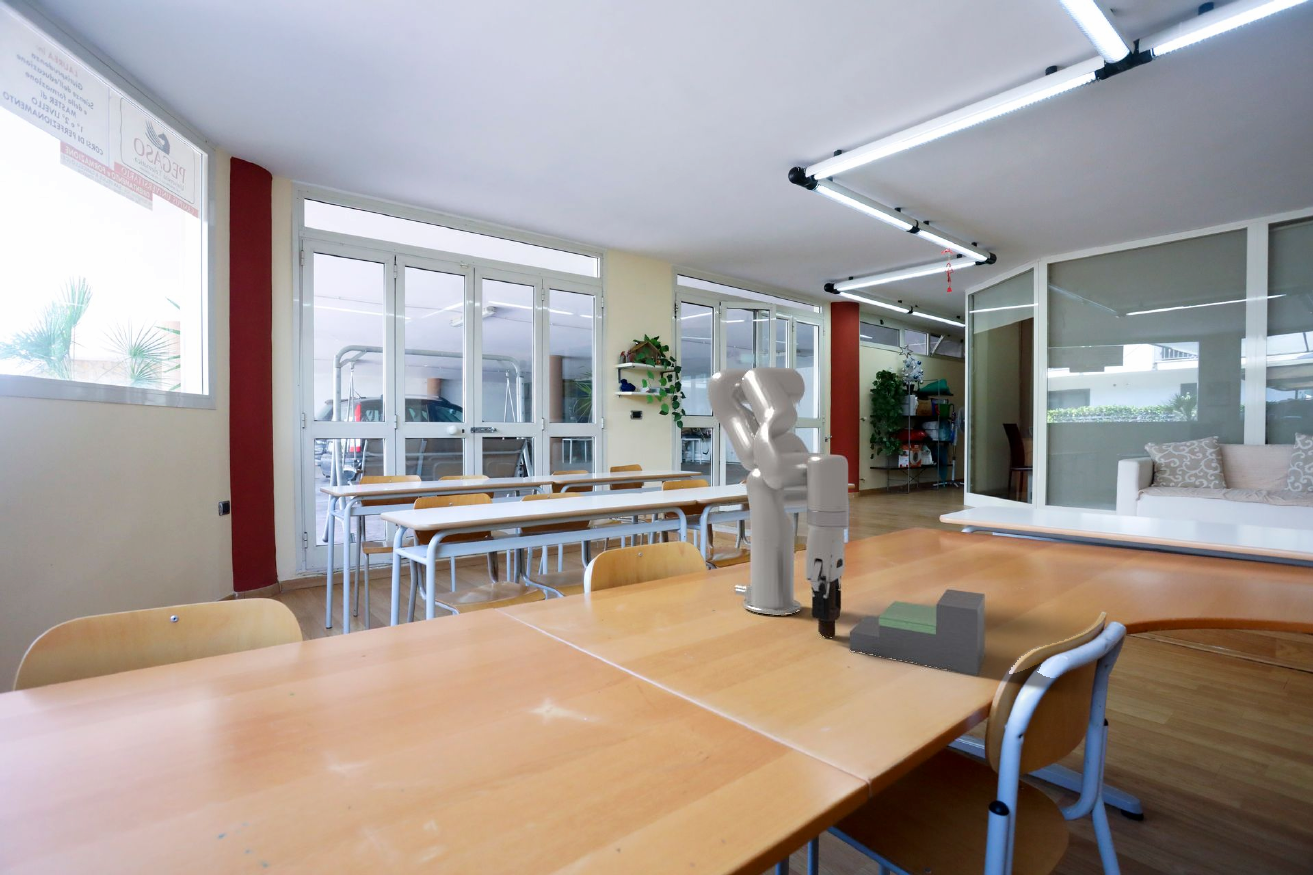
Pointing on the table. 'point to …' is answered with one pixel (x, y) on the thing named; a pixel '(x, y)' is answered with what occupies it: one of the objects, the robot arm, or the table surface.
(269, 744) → the table surface
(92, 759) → the table surface
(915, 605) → the stepped stand
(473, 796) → the table surface
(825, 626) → the bolt
